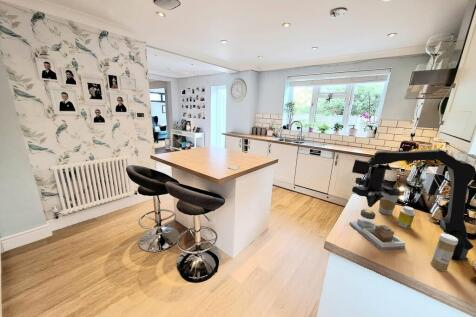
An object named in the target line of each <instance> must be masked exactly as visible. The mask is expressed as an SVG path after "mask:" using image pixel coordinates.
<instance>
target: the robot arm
mask: <svg viewBox="0 0 476 317" xmlns="http://www.w3.org/2000/svg"><path fill="white" fill-rule="evenodd" d="M407 161H408V162H409V161H410V162H412V161H413V162H415V161H439V162H440V163H441V164H443V165H445V166H446V167H447V172H448V177H449V180H450V190H449V198H448V205H447V206H448V209H447V215H446V216H445V217H442V216H440V223H439V227H440V228H441V230H442V231H443V233H445V234H449V235H452V236H454V237H456V238H457V239H458V243H457V245H456V246H455V249H454V252H453V255H452V258H451V260H453V261H455V262H459V261H468V260H469V258H468V257H467V256H468V253H469V252H470V250H472V249H473V248H475V246H474V245H473V244H472V242H471V241H470V240H469V238H468V231H467V227H466V224H465V221H464V218H465V211H466V210H465V208H466V201H467V192H468V187H469V185H470V183H471V182H472V181H473V179H474V176H475V175H476V167H475V166H473V165H472V164H470V163H469V162H466V161H463V160H461V159H460V160H459V159H456V158H455V157H453V156H452V155H450V154H448V153H447V152H446V151H445V150H443V149H439V148H436V149H428V150H426V149H425V150H411V151H410V150H409V151H394V150H385V149H384V150H377V151H376V152H375V153H374V154H373V156H372V157H371V158H369V159H368V160H362V159H361V160H360V159H358V158H356V159H354V162H353V166H352V170H351V173H352V174H357V175H358V174H359V175H364V176H365V175H367V174H369V176H367V177H366V178H364V179H363V178H362V177H356V178H355V184H356V186H352V189H351V193H354V194H355V195H357V196H359V197H366V198H365V199H366V203H367V206H368V207H369V208H372V207H373V206H374V205H375V204H377V202H378V201H380V199H381V198H382V197H384V196H383V195H382V192H388V195H390V196H393V195H395V190H394V189H392V188H393V187H392V188H390V187H391V186H387V185H383V184H386V183H387V181H386V180H385V178H386V177H385V176H386V172H387V171H392V170H393V169H392V167H391V166H390V164H393V163H397V162H398V163H399V162H407ZM369 172H370V173H369ZM357 185H358V186H357Z"/></svg>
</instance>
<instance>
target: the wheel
mask: <svg viewBox="0 0 476 317" xmlns="http://www.w3.org/2000/svg"><path fill="white" fill-rule="evenodd" d="M360 216H361V217H362V218H367V219H369V220H375V217H376V213H375V212H374V211H373V210H369V209H364V208H363V209H361V210H360Z"/></svg>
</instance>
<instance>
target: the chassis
mask: <svg viewBox="0 0 476 317" xmlns="http://www.w3.org/2000/svg"><path fill="white" fill-rule="evenodd" d="M348 225H350V226H351V227H352V228H354V229H355V231H357V232H358V233H359V234H361V235H362V236H363V237H364V238H366V239H367V240H368V241H369V242H370V243H371V244H373V245H374V246H375V247H376V248H377V249H378V250H380V251H383V250H384V251H385V250H398V249H399V250H400V249H406V242H405V241H404V240H402V239H401V238H400V237H398V236H396V235H395V234H394V235H393V238H392V242H382V241H381V240H379V239H378V238H377V237H376V236H374V231H375V227H376V226H377V224H376V223H374V222H373V221H372V220H371V219H367V218H364V217H362V218H359V217H358V218H357V221H349V222H348Z"/></svg>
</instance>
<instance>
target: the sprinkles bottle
mask: <svg viewBox="0 0 476 317" xmlns="http://www.w3.org/2000/svg"><path fill="white" fill-rule="evenodd" d="M457 243H458V239H457V238H456V237H454V236H452V235H449V234H445V232H443V233H440V234H439V237H438V241H437V245H436V247H435V249H434V252H433V256H432V259H431V261H430V265H431V266H432V267H433V268H435V269H436V270H439V271H442V272H447V271H448V269H449V268H448V267H449V265H450V262H451V260H452V255H453V252H454V249H455V246H456V245H457Z"/></svg>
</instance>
